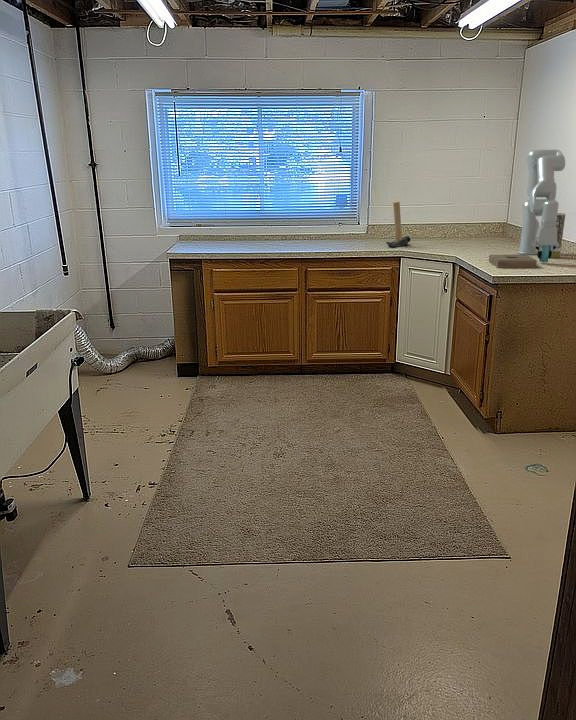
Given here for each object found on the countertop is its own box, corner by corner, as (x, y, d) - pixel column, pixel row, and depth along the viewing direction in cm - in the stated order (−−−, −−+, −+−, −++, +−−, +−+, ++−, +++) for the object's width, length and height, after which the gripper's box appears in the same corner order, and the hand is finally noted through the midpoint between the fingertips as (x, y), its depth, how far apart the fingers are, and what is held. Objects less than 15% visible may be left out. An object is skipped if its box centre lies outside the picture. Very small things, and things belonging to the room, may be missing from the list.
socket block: (488, 261, 337) (489, 254, 336) (525, 261, 335) (525, 254, 334) (497, 267, 318) (498, 260, 317) (535, 267, 316) (536, 260, 315)
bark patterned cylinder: (560, 258, 343) (566, 214, 335) (548, 258, 344) (554, 214, 336) (558, 256, 349) (563, 213, 341) (545, 256, 350) (551, 213, 342)
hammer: (392, 251, 393) (389, 205, 380) (386, 250, 397) (383, 205, 383) (410, 242, 405) (408, 198, 392) (404, 241, 408) (402, 197, 395)
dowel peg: (538, 260, 330) (540, 244, 327) (546, 260, 330) (548, 244, 327) (540, 262, 326) (542, 245, 323) (549, 262, 326) (551, 245, 323)
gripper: (562, 223, 324) (557, 257, 330) (530, 223, 325) (526, 257, 332) (566, 225, 317) (562, 259, 323) (534, 225, 318) (530, 259, 325)
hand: (544, 257), depth 327 cm, fingers closed on dowel peg, 4 cm apart
